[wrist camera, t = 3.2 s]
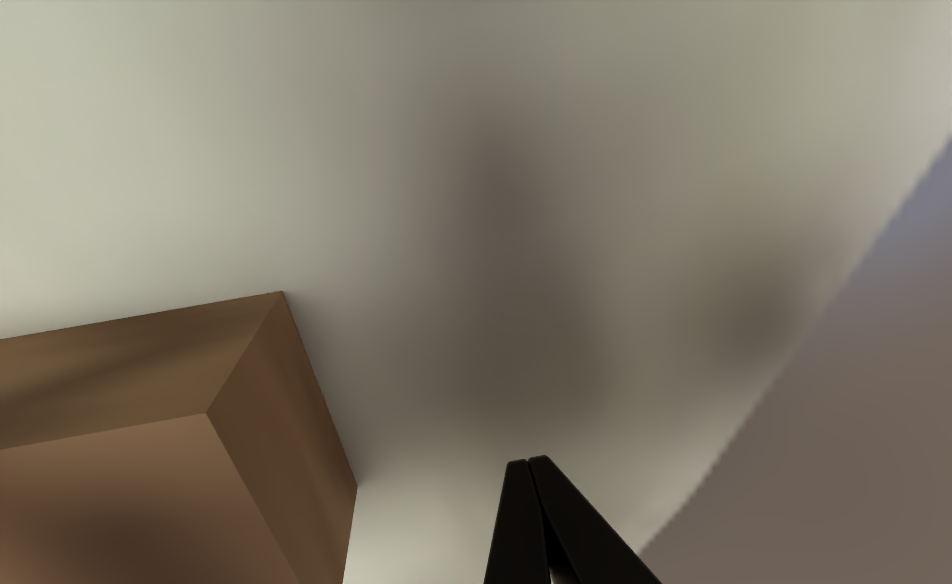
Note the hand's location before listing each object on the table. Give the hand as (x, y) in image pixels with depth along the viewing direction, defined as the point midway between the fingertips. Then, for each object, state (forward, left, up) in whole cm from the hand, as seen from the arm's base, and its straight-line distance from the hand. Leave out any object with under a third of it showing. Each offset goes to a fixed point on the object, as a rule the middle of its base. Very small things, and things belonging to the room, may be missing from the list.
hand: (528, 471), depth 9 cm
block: (+9, 0, -4) cm, 9 cm away
